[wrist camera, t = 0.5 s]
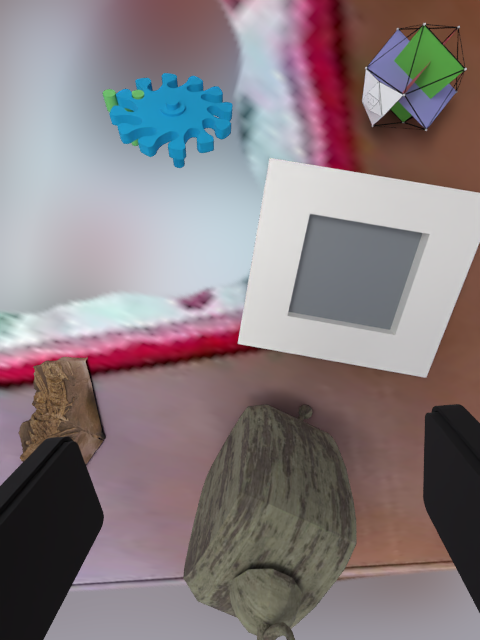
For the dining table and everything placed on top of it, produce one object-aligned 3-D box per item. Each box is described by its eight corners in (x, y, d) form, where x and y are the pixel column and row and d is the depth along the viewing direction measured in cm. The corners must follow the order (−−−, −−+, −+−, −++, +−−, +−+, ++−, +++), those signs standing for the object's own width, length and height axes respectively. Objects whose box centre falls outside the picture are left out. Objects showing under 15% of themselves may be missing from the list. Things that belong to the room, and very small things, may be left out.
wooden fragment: (41, 338, 40) (36, 341, 39) (127, 372, 40) (123, 377, 39) (9, 487, 48) (4, 493, 47) (80, 514, 49) (77, 520, 48)
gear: (251, 85, 28) (203, 158, 24) (245, 148, 34) (205, 217, 29) (135, 50, 29) (69, 114, 25) (147, 116, 35) (94, 178, 30)
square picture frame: (269, 161, 31) (269, 157, 29) (480, 196, 31) (497, 195, 29) (239, 335, 37) (237, 343, 35) (415, 366, 37) (426, 377, 35)
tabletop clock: (269, 484, 44) (270, 805, 20) (207, 456, 43) (134, 755, 20) (325, 401, 39) (413, 694, 16) (257, 368, 39) (242, 622, 15)
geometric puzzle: (430, -14, 25) (415, 0, 20) (490, 54, 26) (489, 81, 21) (359, 78, 31) (334, 105, 26) (410, 131, 32) (395, 165, 27)
